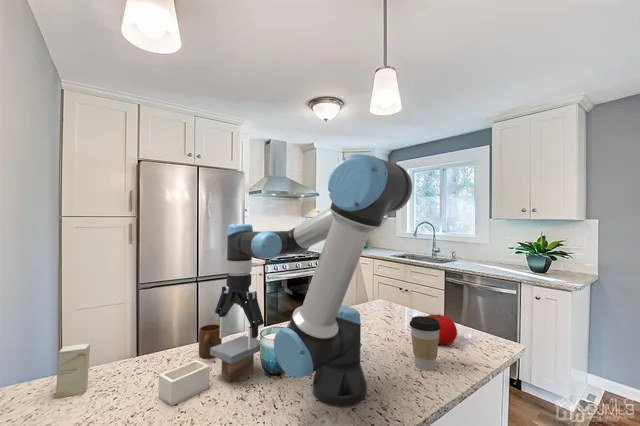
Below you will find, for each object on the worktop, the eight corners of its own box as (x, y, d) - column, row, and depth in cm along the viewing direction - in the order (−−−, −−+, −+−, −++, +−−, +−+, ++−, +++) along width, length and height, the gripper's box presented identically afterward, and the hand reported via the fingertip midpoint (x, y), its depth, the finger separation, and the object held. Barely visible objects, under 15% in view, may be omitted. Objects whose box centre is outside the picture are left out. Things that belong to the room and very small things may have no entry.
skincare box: (55, 399, 80) (56, 352, 80) (61, 390, 84) (62, 346, 84) (84, 393, 82) (86, 348, 83) (89, 385, 86) (90, 342, 87)
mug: (217, 364, 100) (217, 335, 100) (192, 365, 98) (193, 336, 99) (222, 349, 111) (223, 323, 112) (201, 350, 110) (201, 324, 110)
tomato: (464, 344, 117) (464, 317, 117) (445, 352, 110) (444, 323, 110) (432, 333, 129) (432, 308, 129) (413, 339, 122) (412, 313, 122)
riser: (253, 370, 95) (253, 348, 95) (229, 382, 88) (230, 358, 88) (245, 367, 98) (245, 345, 98) (221, 378, 90) (221, 355, 90)
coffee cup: (442, 363, 101) (441, 317, 102) (440, 376, 92) (440, 326, 93) (411, 357, 105) (411, 314, 106) (407, 369, 96) (407, 322, 97)
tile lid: (265, 348, 95) (265, 342, 95) (231, 364, 85) (231, 356, 85) (244, 341, 101) (244, 335, 101) (210, 354, 91) (210, 348, 91)
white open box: (209, 387, 85) (209, 365, 86) (171, 406, 77) (171, 382, 77) (196, 380, 89) (196, 359, 89) (158, 397, 80) (158, 374, 81)
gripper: (276, 276, 90) (275, 348, 89) (224, 267, 104) (222, 329, 104) (257, 280, 83) (255, 357, 83) (205, 270, 98) (203, 336, 98)
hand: (237, 342), depth 93 cm, fingers open, 13 cm apart
